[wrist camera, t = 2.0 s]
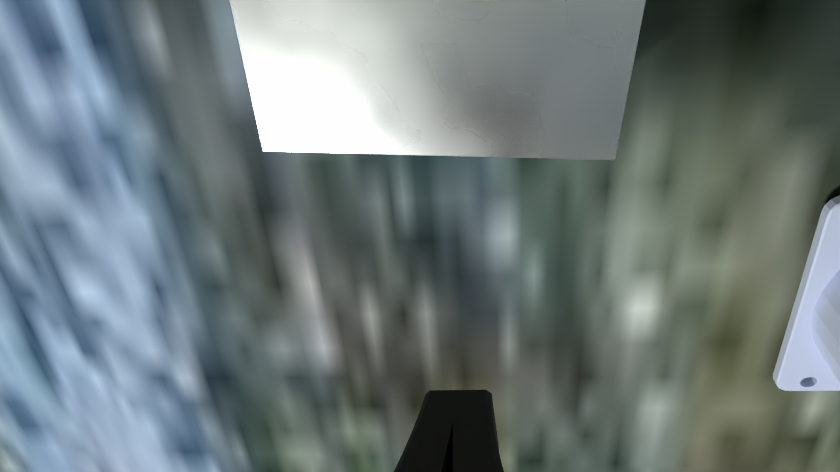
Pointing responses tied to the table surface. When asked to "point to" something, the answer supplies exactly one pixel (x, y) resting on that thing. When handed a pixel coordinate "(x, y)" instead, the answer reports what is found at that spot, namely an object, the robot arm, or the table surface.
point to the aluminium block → (440, 75)
